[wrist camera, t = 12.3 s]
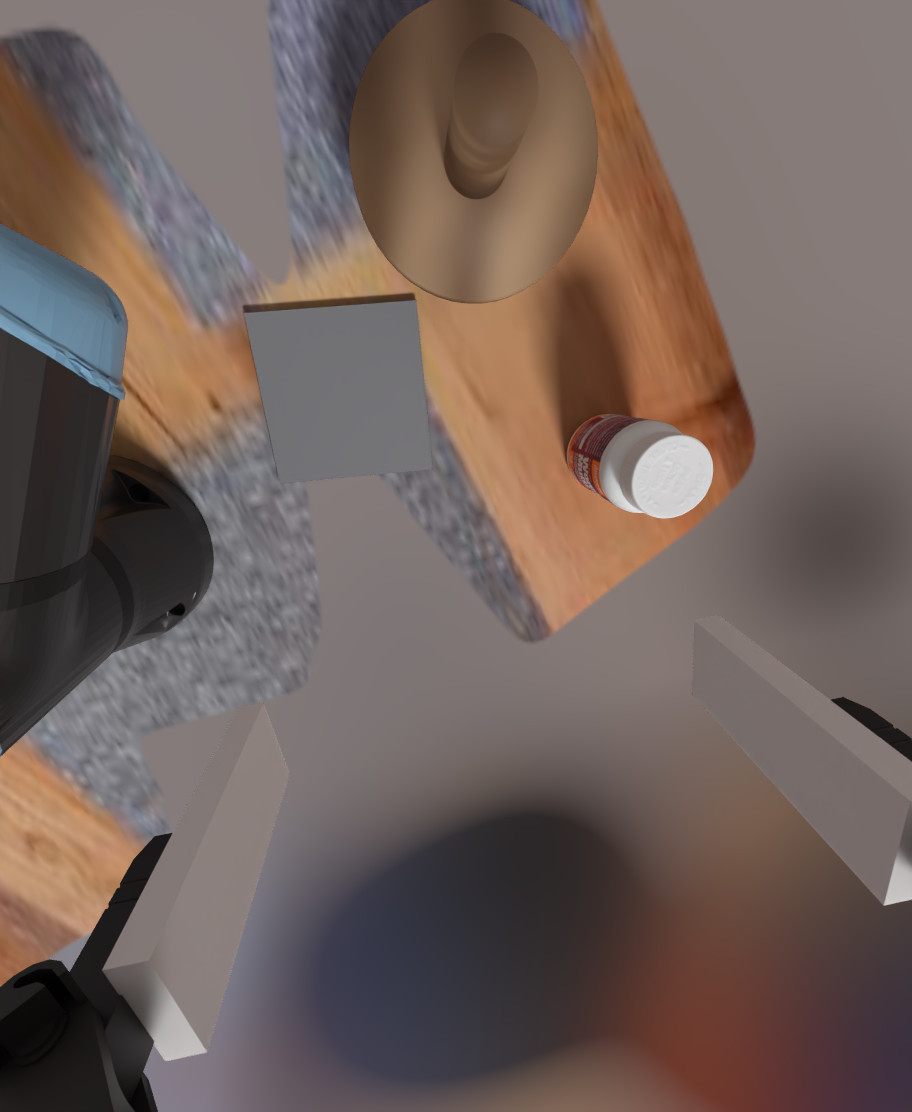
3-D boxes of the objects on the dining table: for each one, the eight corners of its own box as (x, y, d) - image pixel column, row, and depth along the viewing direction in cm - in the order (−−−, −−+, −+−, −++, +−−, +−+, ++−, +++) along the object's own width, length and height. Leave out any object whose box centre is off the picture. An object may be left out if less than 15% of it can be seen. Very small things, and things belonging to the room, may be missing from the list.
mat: (281, 482, 38) (280, 483, 37) (246, 313, 33) (243, 313, 33) (432, 468, 38) (432, 469, 38) (416, 301, 34) (416, 300, 34)
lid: (369, 311, 30) (355, 288, 22) (331, 12, 25) (296, -148, 17) (589, 295, 30) (647, 267, 23) (594, 1, 25) (670, -157, 18)
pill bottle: (549, 455, 39) (601, 483, 28) (604, 396, 38) (680, 401, 27) (598, 503, 41) (664, 546, 30) (653, 448, 39) (741, 473, 29)
